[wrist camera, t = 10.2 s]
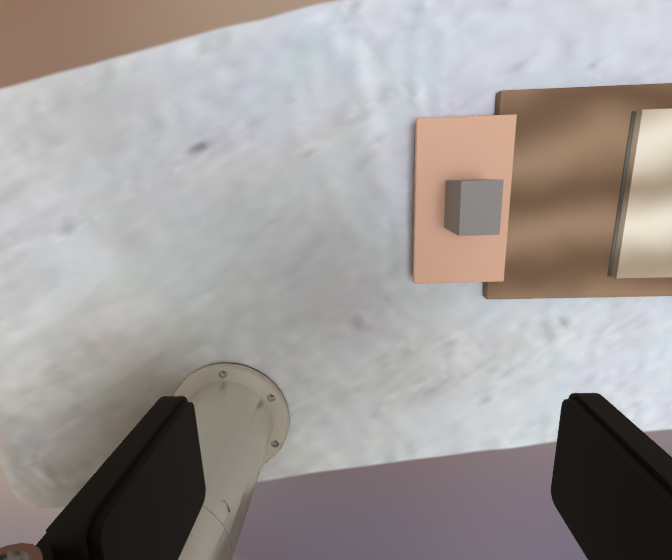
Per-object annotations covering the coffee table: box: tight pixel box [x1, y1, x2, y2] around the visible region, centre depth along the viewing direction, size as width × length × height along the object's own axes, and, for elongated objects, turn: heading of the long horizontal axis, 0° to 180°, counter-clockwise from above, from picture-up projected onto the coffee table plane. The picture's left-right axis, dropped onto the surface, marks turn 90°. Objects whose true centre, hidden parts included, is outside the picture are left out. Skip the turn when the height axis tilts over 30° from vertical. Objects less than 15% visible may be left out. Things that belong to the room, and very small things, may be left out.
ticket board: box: [483, 83, 672, 299], centre depth 34 cm, size 18×24×2 cm
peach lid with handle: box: [413, 114, 517, 283], centre depth 32 cm, size 14×8×6 cm, turn 2°
